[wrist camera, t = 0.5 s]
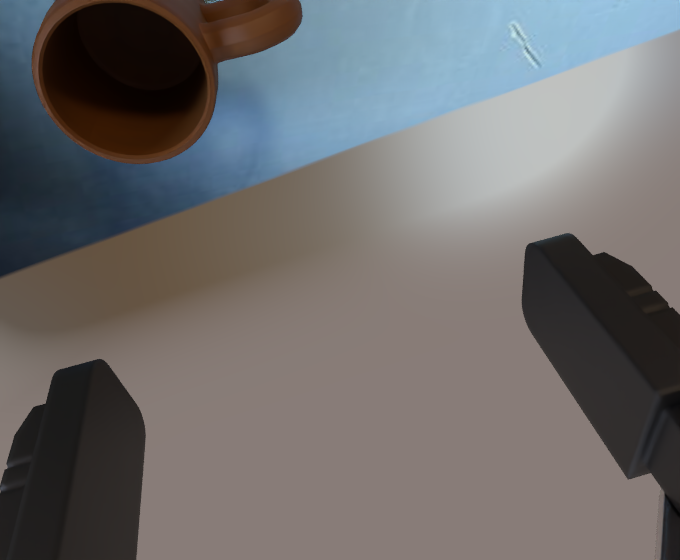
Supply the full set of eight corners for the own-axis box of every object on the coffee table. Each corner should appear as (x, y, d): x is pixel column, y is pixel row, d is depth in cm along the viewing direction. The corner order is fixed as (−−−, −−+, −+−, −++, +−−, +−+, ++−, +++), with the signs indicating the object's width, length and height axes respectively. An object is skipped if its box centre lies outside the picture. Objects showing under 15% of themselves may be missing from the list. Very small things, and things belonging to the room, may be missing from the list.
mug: (256, -107, 28) (278, -86, 20) (304, 43, 32) (335, 101, 25) (36, -22, 28) (-19, 28, 21) (117, 113, 33) (95, 191, 26)
